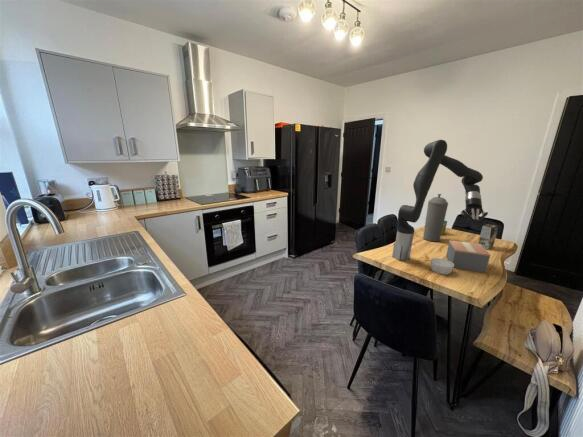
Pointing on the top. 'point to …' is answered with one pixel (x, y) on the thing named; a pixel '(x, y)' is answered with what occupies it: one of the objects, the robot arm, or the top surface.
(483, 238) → the coffee box
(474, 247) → the lid
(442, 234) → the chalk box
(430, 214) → the canister
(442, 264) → the ramekin
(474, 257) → the box
